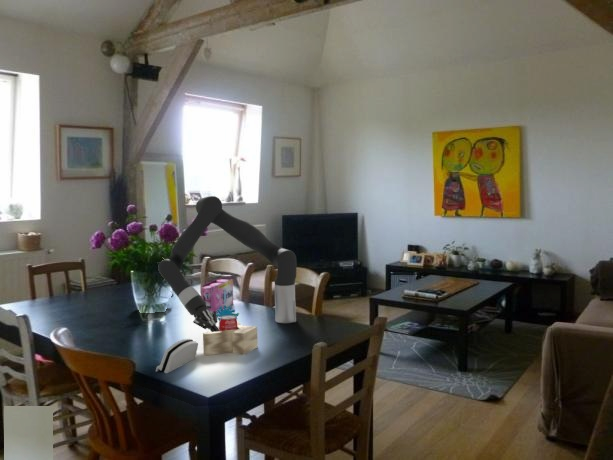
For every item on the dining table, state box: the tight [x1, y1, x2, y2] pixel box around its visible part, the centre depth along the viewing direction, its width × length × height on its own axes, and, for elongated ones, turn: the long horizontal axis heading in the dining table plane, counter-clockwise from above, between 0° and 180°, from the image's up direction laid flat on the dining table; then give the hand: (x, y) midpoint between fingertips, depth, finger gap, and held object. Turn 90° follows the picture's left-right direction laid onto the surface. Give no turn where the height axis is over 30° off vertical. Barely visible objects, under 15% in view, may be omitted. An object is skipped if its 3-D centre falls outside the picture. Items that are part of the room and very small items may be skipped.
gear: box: [216, 305, 240, 321], centre depth 247 cm, size 11×6×10 cm
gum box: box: [200, 277, 234, 313], centre depth 275 cm, size 24×8×14 cm, turn 164°
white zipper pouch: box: [155, 338, 199, 374], centre depth 190 cm, size 17×5×10 cm, turn 157°
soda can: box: [218, 315, 238, 331], centre depth 209 cm, size 7×7×12 cm
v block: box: [202, 320, 259, 356], centre depth 208 cm, size 15×23×8 cm, turn 156°
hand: (218, 334), depth 210 cm, fingers closed
